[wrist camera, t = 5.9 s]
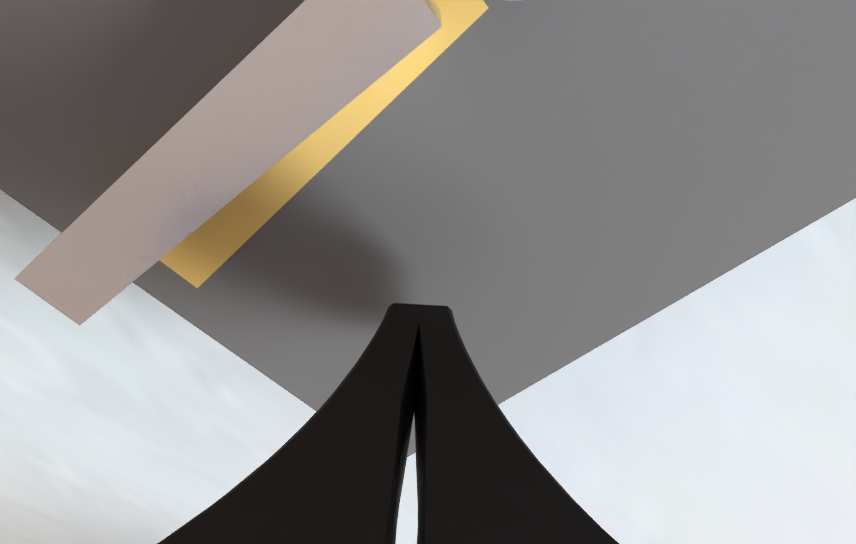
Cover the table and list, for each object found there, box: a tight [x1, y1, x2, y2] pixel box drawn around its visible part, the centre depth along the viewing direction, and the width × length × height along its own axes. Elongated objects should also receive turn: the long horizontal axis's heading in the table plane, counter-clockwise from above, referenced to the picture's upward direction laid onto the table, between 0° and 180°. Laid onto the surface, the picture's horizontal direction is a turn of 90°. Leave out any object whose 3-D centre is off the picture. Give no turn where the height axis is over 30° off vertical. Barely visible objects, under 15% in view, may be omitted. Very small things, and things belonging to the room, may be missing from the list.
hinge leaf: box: [14, 0, 442, 325], centre depth 8 cm, size 8×1×3 cm, turn 127°
